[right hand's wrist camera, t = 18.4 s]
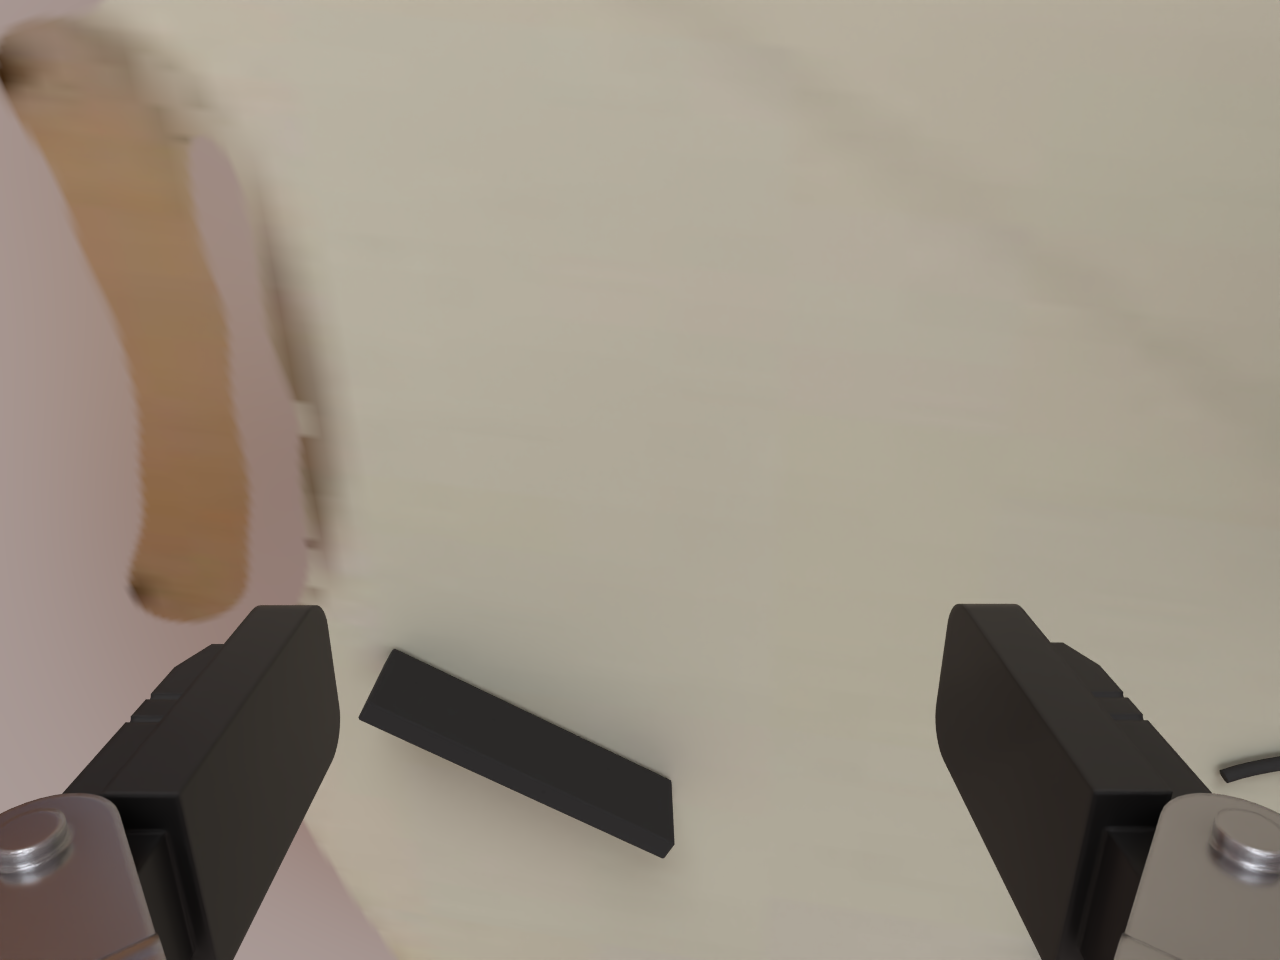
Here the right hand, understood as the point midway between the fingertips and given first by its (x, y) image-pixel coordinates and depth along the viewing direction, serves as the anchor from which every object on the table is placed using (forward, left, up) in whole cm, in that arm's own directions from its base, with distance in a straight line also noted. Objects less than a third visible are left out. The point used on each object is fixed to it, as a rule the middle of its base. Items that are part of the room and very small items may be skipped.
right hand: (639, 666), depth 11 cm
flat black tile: (-24, +6, -32) cm, 40 cm away
